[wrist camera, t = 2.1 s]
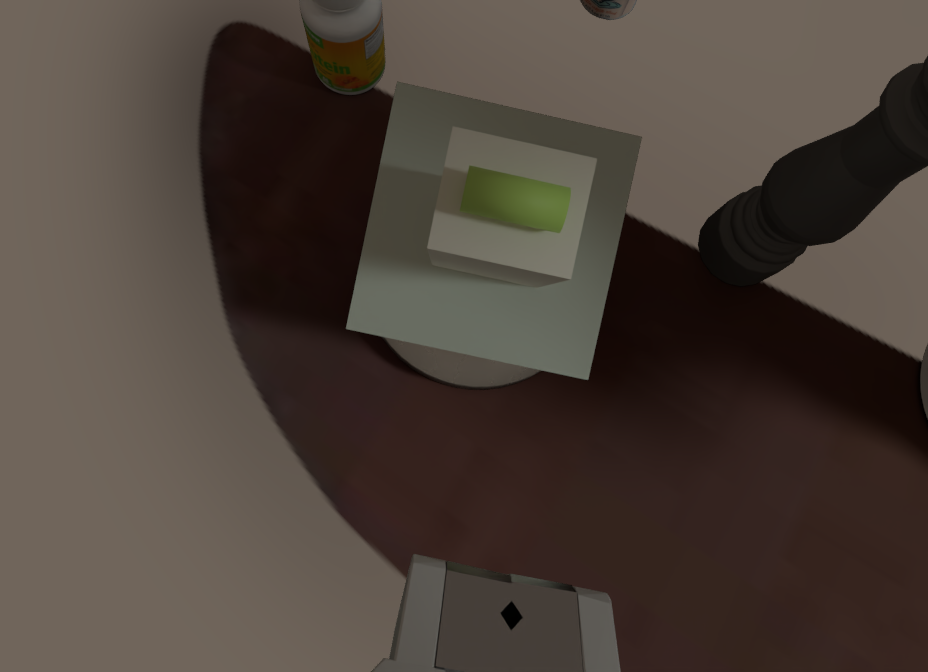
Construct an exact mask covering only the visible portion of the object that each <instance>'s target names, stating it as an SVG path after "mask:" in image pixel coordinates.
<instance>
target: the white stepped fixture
mask: <svg viewBox="0 0 928 672" xmlns="http://www.w3.org/2000/svg"><path fill="white" fill-rule="evenodd" d="M641 138H642V137H640V136H635V135H631V134H627V133H623V132H618V131H613V130H609V129H605V128H600V127H596V126H592V125H587V124H583V123H578V122H574V121H569V120H565V119H561V118H556V117H552V116H547V115H543V114H539V113H534V112H530V111H525V110H520V109H516V108H512V107H508V106H503V105H499V104H494V103H490V102H485V101H481V100H477V99H472V98H468V97H463V96H459V95H455V94H450V93H445V92H441V91H436V90H432V89H428V88H424V87H419V86H414V85H410V84H405V83H401V82H397V85H396V89H395V94H394V99H393V104H392V109H391V113H390V118H389V123H388V128H387V133H386V137H385V142H384V147H383V152H382V157H381V162H380V166H379V171H378V176H377V181H376V186H375V190H374V195H373V200H372V205H371V210H370V215H369V219H368V224H367V229H366V234H365V239H364V244H363V248H362V253H361V258H360V263H359V268H358V272H357V277H356V282H355V287H354V292H353V297H352V301H351V306H350V311H349V316H348V321H347V326H346V329H349V330H353V331H358V332H363V333H367V334H372V335H377V336H382V337H386V338H391V339H396V340H401V341H405V342H410V343H415V344H419V345H424V346H429V347H434V348H438V349H443V350H448V351H453V352H457V353H462V354H467V355H471V356H476V357H481V358H486V359H490V360H495V361H500V362H505V363H509V364H514V365H519V366H523V367H528V368H533V369H538V370H542V371H547V372H552V373H557V374H561V375H566V376H571V377H575V378H580V379H585V380H588V379H589V374H590V370H591V365H592V360H593V356H594V351H595V347H596V342H597V338H598V333H599V329H600V324H601V320H602V315H603V311H604V306H605V302H606V297H607V293H608V288H609V284H610V279H611V275H612V270H613V266H614V261H615V256H616V252H617V247H618V243H619V238H620V234H621V229H622V225H623V220H624V216H625V211H626V207H627V202H628V198H629V193H630V189H631V184H632V180H633V175H634V170H635V166H636V161H637V157H638V152H639V148H640V143H641Z"/></svg>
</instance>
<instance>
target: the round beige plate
mask: <svg viewBox="0 0 928 672" xmlns="http://www.w3.org/2000/svg"><path fill="white" fill-rule="evenodd" d="M381 337H382V336H381ZM382 338H383V340H384V341H385V342H386V344H387V345H388V346H389V348H390V349H391V350H392V351H393V352H394V353H395V354H396V355H397V356H398V357H399V358H400V359H401V360H402V361H403V362H404V363H405V364H407V365H408V366H409V367H410V368H412V369H413V370H414V371H416V372H418V373H419V374H421V375H423V376H425V377H426V378H428V379H431V380H433V381H436V382H438V383H440V384H444V385H447V386H451V387H454V388H461V389H468V390H488V389H496V388H502V387H506V386H510V385H513V384H516V383H519V382H521V381H523V380H526V379H528V378H530V377H532V376H533V375H535V374H537V373H539V372H540V371H542V370H538V369H533V368H528V367H523V366H519V365H514V364H509V363H505V362H500V361H495V360H490V359H486V358H481V357H476V356H471V355H467V354H462V353H457V352H453V351H448V350H443V349H438V348H434V347H429V346H424V345H419V344H415V343H410V342H405V341H401V340H396V339H391V338H386V337H382Z"/></svg>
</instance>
